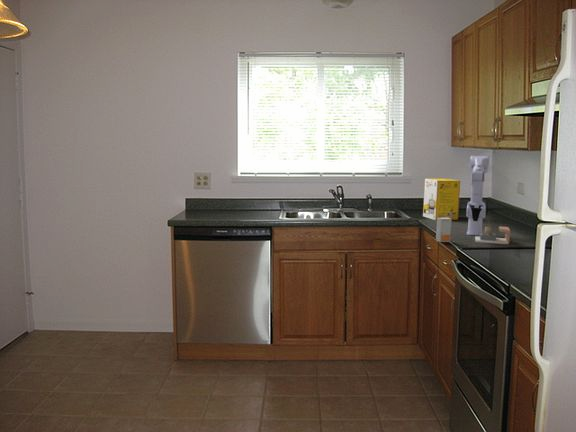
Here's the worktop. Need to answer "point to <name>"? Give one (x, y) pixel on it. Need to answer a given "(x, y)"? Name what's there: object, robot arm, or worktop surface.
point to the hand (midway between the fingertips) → (475, 220)
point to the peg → (487, 231)
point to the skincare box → (443, 229)
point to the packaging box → (441, 198)
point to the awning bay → (494, 237)
